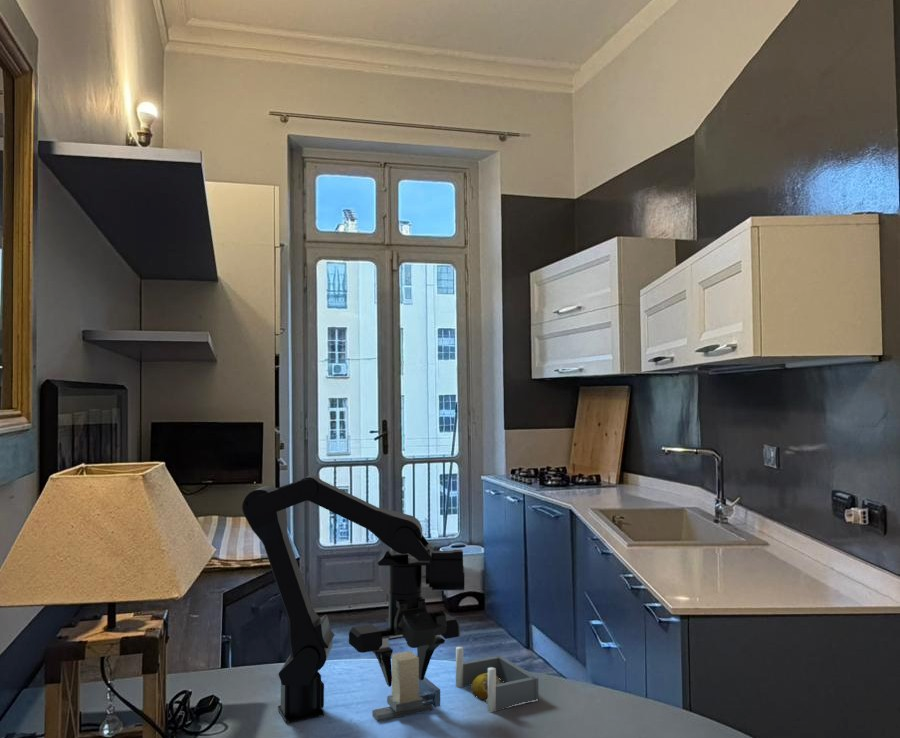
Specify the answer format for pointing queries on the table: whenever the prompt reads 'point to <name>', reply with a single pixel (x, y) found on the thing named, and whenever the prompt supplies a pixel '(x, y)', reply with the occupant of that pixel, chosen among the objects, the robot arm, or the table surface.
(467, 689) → the table surface
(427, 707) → the rail
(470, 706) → the table surface
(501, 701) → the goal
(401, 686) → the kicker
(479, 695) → the fruit
